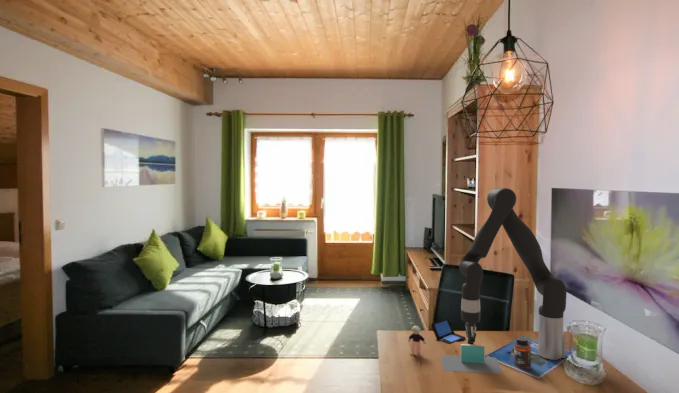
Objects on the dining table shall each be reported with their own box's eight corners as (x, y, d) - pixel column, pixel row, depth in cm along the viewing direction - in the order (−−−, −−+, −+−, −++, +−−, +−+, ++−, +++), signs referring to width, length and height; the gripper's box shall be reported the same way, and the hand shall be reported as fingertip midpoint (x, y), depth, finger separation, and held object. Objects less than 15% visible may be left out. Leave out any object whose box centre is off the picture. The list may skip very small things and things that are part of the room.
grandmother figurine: (406, 356, 175) (406, 326, 175) (408, 352, 179) (407, 323, 178) (425, 358, 173) (425, 328, 172) (426, 354, 177) (426, 325, 176)
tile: (483, 362, 167) (483, 345, 166) (484, 363, 165) (484, 346, 165) (460, 360, 168) (460, 343, 168) (461, 362, 167) (461, 345, 166)
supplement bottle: (529, 364, 166) (530, 336, 165) (531, 371, 160) (531, 342, 160) (513, 362, 168) (513, 334, 167) (514, 369, 162) (514, 340, 162)
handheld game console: (449, 346, 184) (449, 330, 184) (430, 339, 193) (430, 323, 193) (466, 339, 192) (466, 323, 192) (447, 332, 201) (447, 317, 200)
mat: (495, 359, 171) (495, 357, 170) (503, 376, 157) (503, 374, 157) (440, 356, 174) (440, 354, 174) (443, 372, 161) (443, 370, 161)
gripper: (482, 314, 163) (482, 357, 164) (477, 304, 176) (477, 344, 177) (463, 313, 165) (463, 356, 166) (459, 303, 178) (459, 343, 179)
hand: (470, 350), depth 172 cm, fingers closed
